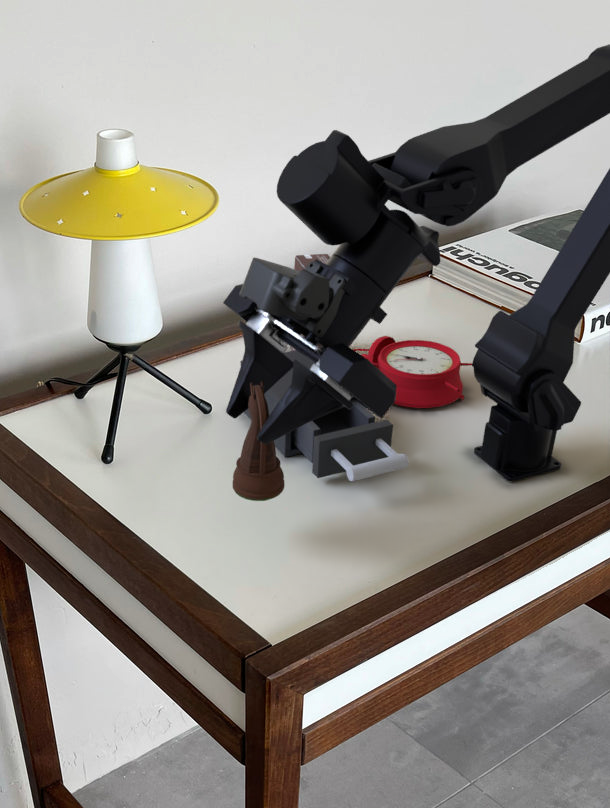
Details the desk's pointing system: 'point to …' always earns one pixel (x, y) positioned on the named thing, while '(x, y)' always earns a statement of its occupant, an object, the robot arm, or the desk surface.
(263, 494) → the chess piece
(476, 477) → the desk surface
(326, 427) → the drawer
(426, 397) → the alarm clock
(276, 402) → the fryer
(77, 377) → the desk surface
